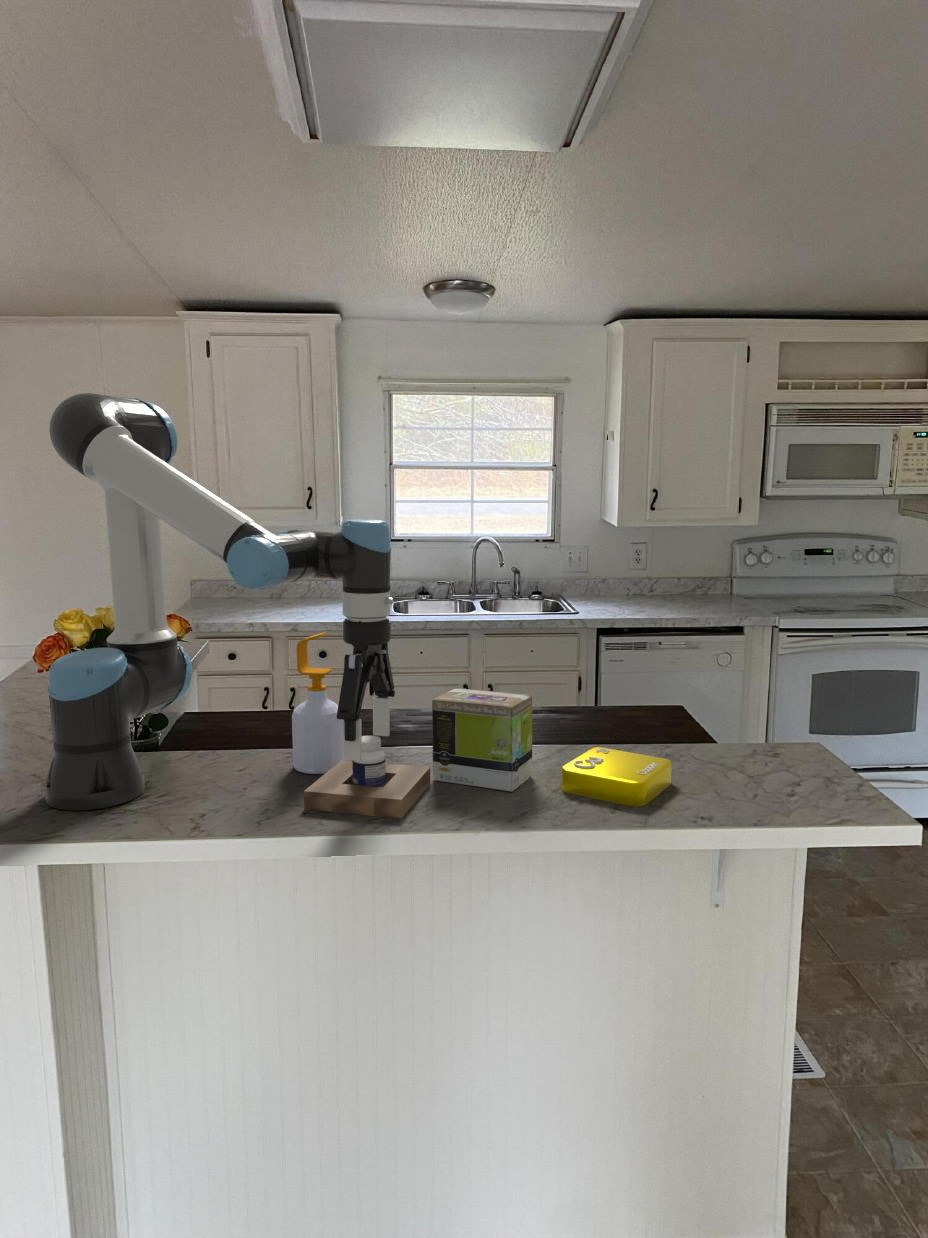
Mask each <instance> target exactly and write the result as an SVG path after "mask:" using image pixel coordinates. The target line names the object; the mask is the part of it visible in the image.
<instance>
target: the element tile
mask: <svg viewBox="0 0 928 1238" xmlns="http://www.w3.org/2000/svg"><path fill="white" fill-rule="evenodd" d="M560 773H561V774H560V775H561V777H560V779H561V780H560V781H561V782H560V783H561V784H560V790H561V791H562V792H564V793H566V794H572V795H576V796H581V797H587V798H591V799H596V800H600V801H605V802H610V803H614V804H619V805H624V806H629V807H644V806H646V805H648V804H649V803H650V802H652V800H654V799H655V798H656V797H658V796H659V795H660V794H661V793H662V792H664V791H665V790H667V788H669V787H670V786H671V783H672V761H671V760H670V759H669V758H663V757H657V756H653V755H647V754H641V753H636V752H631V751H630V752H629V751H626V750H619V749H618V750H617V749H614V748H607V747H601V746H595V747H593V748H590V749H589V750H587V751H585V752H583V753H582V754H580V755H579V756H577V757H575V758H574V759H572V760H570V761H568V762H567V763H565V764H563V765H562V767H561V772H560Z"/></svg>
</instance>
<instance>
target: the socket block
mask: <svg viewBox="0 0 928 1238" xmlns="http://www.w3.org/2000/svg"><path fill="white" fill-rule="evenodd" d="M430 785H431V766H420V765H409V764H395V763H386V785H385V786H384V787H371V786H360V785H353V773H352V760H341V761H340V762H339V763H338V764H336V765H335V766H334V767H333V768H331V769H330V770H329V771H328V772H327V773H325V774H322V776H320V777H319V778H318V779H317V780H315V781H314V782H313V783H312V784H310V785H309V786H308V787H307V788H305V790H303V798H304V799H303V802H304V803H303V804H304V810H306V811H307V810H308V811H319V812H328V813H341V814H348V815H349V814H350V815H359V816H372V817H383V818H393V819H403V818H404V816H406V814H407V813H408V812H409V810H410V809H411V808H412V807H413V806H414V804H416V802H417V801H418V800H419V798H421V796H422V795H423V793H424V792H425V791H426V790H427V789H428V787H429V786H430Z"/></svg>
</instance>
